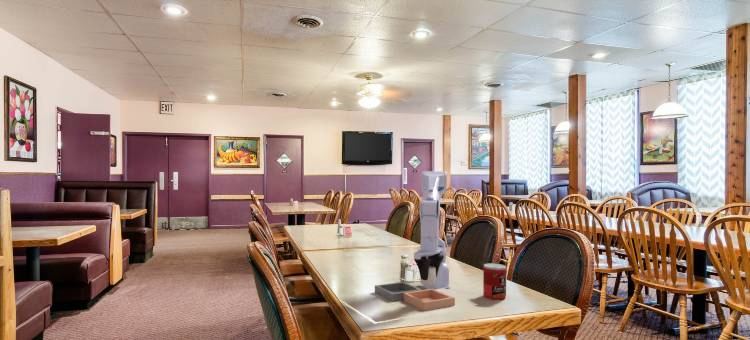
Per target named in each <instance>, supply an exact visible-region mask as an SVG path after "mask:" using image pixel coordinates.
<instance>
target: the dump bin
mask: <svg viewBox="0 0 750 340" xmlns="http://www.w3.org/2000/svg"><path fill="white" fill-rule="evenodd" d="M402 301H403V302H406V303H407V304H410V305H412V306H415V307H416V308H417V309H420V310H422V311H424V312H426V311H431V310H436V309H441V308H447V307H454V306H455V305H456V302H455V301H456V298H455V297H454V296H452V295H449V294H447V293H444V292H442V291H439V290H437V289H427V288H426V289H422V290H420V291H414V292H407V293H403V300H402Z"/></svg>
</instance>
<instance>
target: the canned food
mask: <svg viewBox="0 0 750 340" xmlns="http://www.w3.org/2000/svg"><path fill="white" fill-rule="evenodd" d="M482 281H483V282H482V283H483V285H482V287H483V289H482V291H483V293H482V294H483V297H484V298H486V299H488V300H493V301H502V300H504V299H505V300H506V297H507V266H506V265H504V264H500V263H493V262H492V263H491V262H490V263H484V264H483V280H482Z"/></svg>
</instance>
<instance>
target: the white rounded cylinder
mask: <svg viewBox="0 0 750 340" xmlns="http://www.w3.org/2000/svg"><path fill="white" fill-rule="evenodd" d="M421 284H426V285H432V284H436V267H433V266H429V271H428V279H427V280H422V279H421V278H420V285H421Z"/></svg>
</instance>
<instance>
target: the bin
mask: <svg viewBox="0 0 750 340" xmlns="http://www.w3.org/2000/svg"><path fill="white" fill-rule="evenodd" d="M420 290H423V289H422V288H419V287H417V286H414V285H412V284H410V283H407V282H405V281H400V282H393V283H383V284H377V285H374V293H375V294H376V295H379V296H380V297H383V298H385V299H387V300H389V301H391V302H392V303H393V302H398V301H404V300H403V293H407V292H414V291H420Z"/></svg>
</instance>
